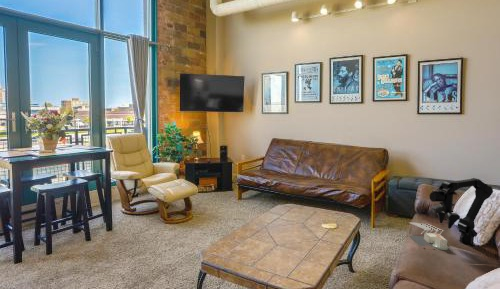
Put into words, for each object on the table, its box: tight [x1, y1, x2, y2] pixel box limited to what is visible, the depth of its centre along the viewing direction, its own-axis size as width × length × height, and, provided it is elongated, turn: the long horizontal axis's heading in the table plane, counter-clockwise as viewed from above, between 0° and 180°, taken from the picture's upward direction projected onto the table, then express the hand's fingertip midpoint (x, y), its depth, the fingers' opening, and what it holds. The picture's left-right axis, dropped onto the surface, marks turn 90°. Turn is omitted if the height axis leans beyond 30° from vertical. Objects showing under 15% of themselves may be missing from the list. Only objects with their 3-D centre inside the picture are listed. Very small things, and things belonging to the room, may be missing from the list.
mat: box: [408, 235, 453, 252], centre depth 201 cm, size 17×21×1 cm
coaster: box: [432, 243, 450, 251], centre depth 195 cm, size 8×8×1 cm
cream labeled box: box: [423, 232, 444, 243], centre depth 203 cm, size 9×6×4 cm, turn 88°
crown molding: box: [409, 222, 445, 235], centre depth 225 cm, size 24×1×20 cm
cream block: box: [434, 235, 448, 248], centre depth 194 cm, size 4×6×5 cm, turn 178°
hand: (444, 225), depth 199 cm, fingers open, 9 cm apart
